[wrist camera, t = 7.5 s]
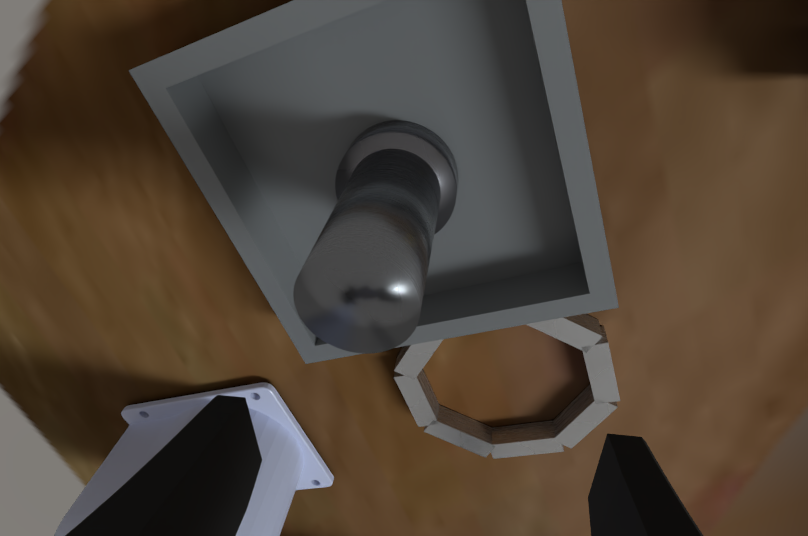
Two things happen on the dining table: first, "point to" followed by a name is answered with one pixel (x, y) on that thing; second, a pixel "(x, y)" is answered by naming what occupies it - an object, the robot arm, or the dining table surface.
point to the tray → (408, 101)
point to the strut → (378, 238)
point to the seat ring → (521, 437)
